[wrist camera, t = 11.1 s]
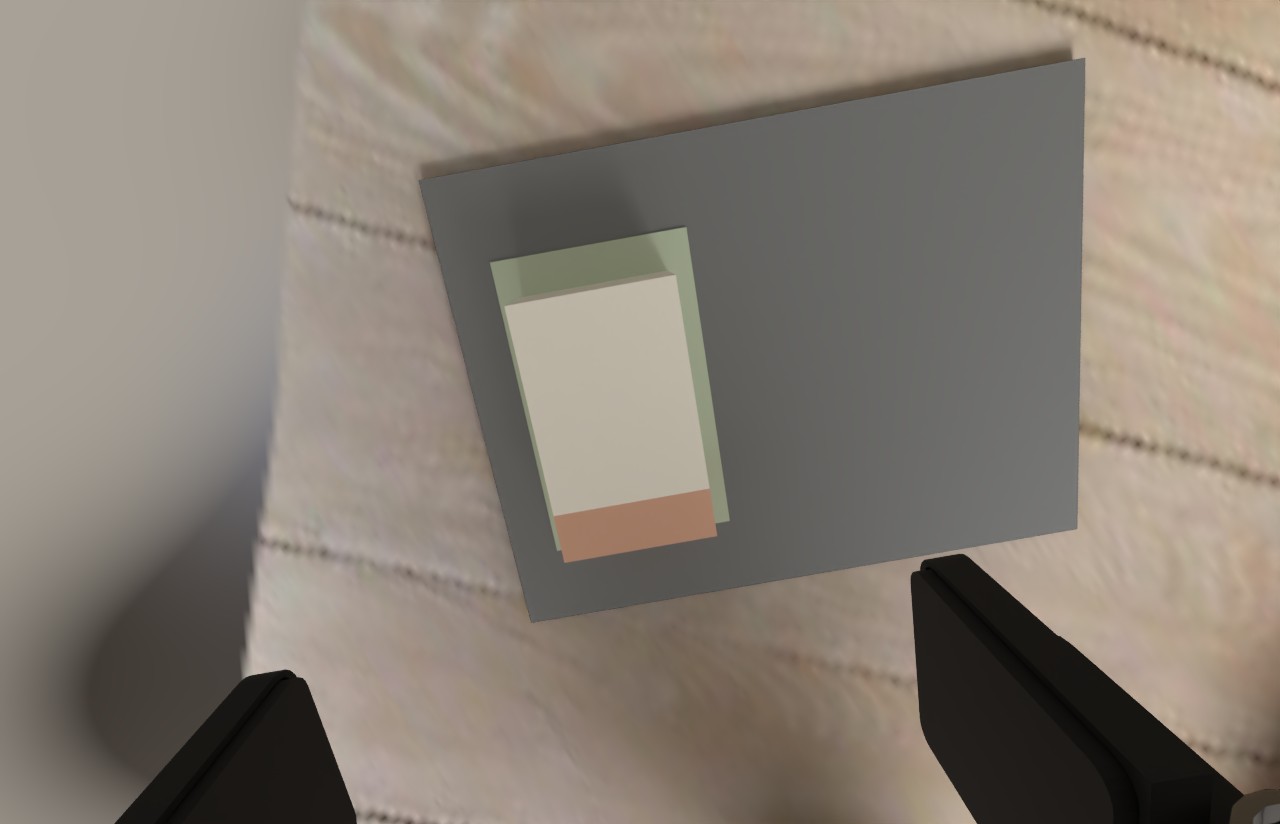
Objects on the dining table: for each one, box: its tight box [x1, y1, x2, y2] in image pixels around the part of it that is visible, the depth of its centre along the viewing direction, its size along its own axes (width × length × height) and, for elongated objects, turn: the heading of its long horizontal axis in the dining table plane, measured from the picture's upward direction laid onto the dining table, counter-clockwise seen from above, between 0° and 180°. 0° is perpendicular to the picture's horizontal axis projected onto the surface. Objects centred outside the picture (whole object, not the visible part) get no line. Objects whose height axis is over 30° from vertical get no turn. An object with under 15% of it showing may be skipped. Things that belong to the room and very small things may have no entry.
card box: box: [504, 271, 717, 563], centre depth 24 cm, size 6×10×4 cm, turn 10°
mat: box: [419, 58, 1085, 623], centre depth 26 cm, size 20×26×1 cm
